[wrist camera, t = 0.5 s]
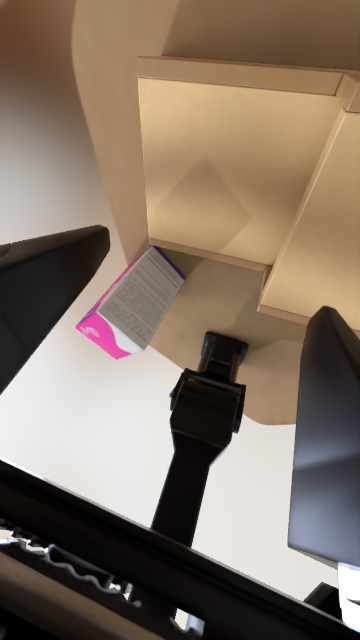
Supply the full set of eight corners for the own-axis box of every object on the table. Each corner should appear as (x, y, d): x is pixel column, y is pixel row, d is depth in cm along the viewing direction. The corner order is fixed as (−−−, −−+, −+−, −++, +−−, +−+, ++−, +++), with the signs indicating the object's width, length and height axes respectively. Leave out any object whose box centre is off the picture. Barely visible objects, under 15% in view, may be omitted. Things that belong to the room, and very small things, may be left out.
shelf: (356, 270, 21) (374, 344, 16) (162, 227, 24) (124, 275, 19) (505, 81, 12) (667, 106, 6) (159, 55, 15) (83, 58, 10)
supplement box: (153, 241, 26) (96, 311, 19) (187, 278, 28) (148, 353, 21) (127, 264, 30) (72, 329, 23) (158, 295, 32) (118, 362, 25)
